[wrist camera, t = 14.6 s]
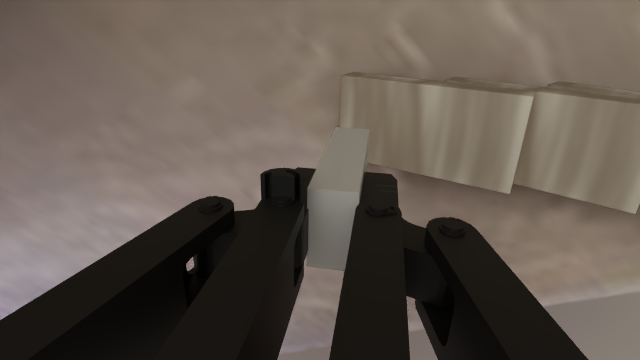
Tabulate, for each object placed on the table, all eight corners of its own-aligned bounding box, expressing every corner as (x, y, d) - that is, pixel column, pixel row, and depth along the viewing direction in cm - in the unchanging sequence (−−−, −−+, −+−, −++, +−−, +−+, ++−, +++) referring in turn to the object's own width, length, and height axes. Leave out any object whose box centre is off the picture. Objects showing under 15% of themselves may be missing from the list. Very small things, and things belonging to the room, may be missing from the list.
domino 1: (337, 156, 24) (509, 194, 20) (341, 75, 22) (533, 96, 18) (349, 149, 26) (513, 183, 21) (353, 72, 24) (535, 91, 19)
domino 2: (432, 163, 24) (635, 213, 18) (445, 80, 22) (677, 109, 16) (442, 156, 25) (635, 202, 19) (455, 77, 23) (674, 103, 17)
